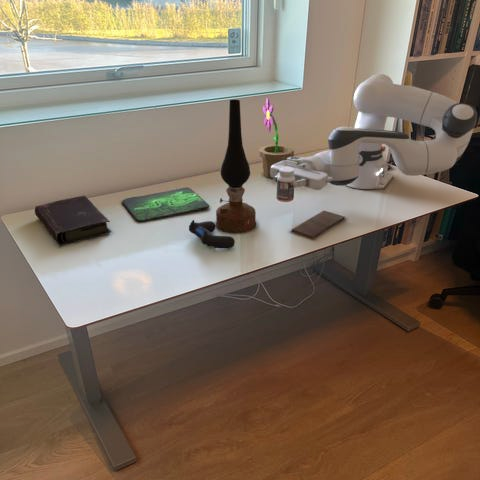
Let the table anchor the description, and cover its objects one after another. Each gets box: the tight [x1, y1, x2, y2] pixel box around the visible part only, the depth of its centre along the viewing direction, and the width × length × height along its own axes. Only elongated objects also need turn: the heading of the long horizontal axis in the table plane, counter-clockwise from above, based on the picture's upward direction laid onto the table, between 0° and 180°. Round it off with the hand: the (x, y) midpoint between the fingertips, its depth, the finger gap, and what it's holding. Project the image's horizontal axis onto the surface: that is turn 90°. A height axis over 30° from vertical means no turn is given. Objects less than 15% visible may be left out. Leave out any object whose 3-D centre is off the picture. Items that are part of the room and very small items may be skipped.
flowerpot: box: [258, 97, 295, 180], centre depth 202 cm, size 14×14×30 cm
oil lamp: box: [215, 99, 257, 234], centre depth 161 cm, size 14×15×40 cm
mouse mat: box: [121, 187, 210, 223], centre depth 184 cm, size 27×22×1 cm
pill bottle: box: [276, 167, 295, 203], centre depth 163 cm, size 6×6×10 cm
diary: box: [34, 195, 112, 247], centre depth 168 cm, size 19×25×5 cm
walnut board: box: [291, 210, 346, 240], centre depth 169 cm, size 20×8×1 cm, turn 141°
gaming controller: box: [188, 219, 236, 250], centre depth 158 cm, size 17×6×10 cm
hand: (284, 182), depth 162 cm, fingers closed on pill bottle, 6 cm apart
